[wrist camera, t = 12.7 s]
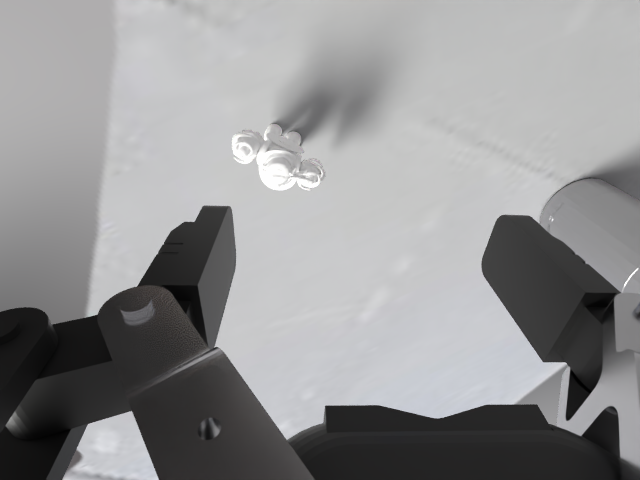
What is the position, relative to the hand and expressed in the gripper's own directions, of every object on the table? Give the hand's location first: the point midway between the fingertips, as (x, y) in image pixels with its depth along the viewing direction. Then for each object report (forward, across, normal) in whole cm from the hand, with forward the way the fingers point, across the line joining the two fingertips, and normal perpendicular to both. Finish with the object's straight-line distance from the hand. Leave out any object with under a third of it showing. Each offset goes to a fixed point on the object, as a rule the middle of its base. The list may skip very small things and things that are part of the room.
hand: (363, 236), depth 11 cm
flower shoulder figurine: (+30, +4, +6) cm, 31 cm away
